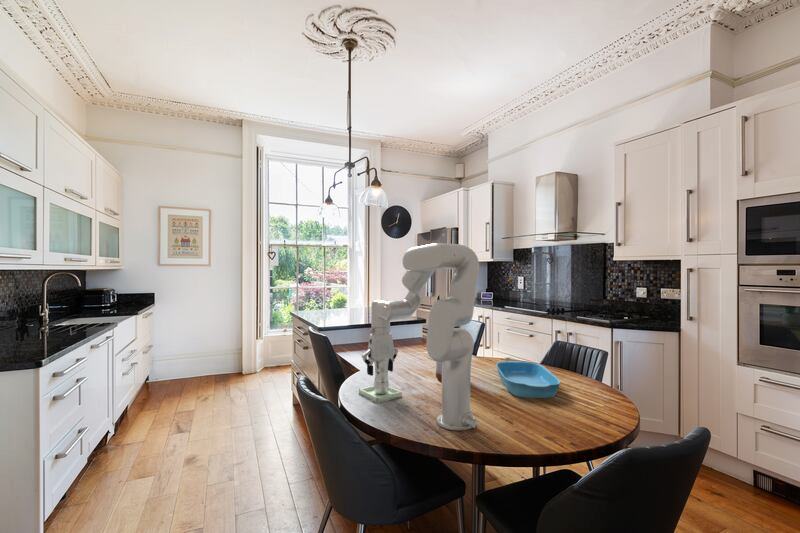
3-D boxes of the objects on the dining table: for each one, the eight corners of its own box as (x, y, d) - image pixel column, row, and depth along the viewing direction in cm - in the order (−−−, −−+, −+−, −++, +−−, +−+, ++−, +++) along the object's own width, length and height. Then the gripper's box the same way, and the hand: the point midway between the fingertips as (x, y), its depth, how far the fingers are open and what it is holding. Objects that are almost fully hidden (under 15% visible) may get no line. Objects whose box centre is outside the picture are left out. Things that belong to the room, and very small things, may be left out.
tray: (401, 396, 152) (401, 391, 152) (376, 403, 144) (377, 398, 144) (382, 388, 162) (382, 383, 162) (358, 393, 155) (358, 389, 155)
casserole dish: (568, 403, 146) (568, 385, 146) (509, 402, 148) (509, 383, 148) (538, 375, 183) (538, 360, 183) (491, 374, 184) (492, 359, 184)
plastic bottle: (375, 396, 150) (375, 346, 150) (371, 391, 156) (372, 342, 156) (391, 395, 151) (391, 345, 151) (387, 390, 158) (387, 342, 158)
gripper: (367, 334, 145) (367, 379, 145) (403, 329, 155) (402, 371, 155) (357, 331, 151) (357, 374, 151) (392, 327, 161) (391, 367, 161)
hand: (380, 372), depth 153 cm, fingers open, 9 cm apart
